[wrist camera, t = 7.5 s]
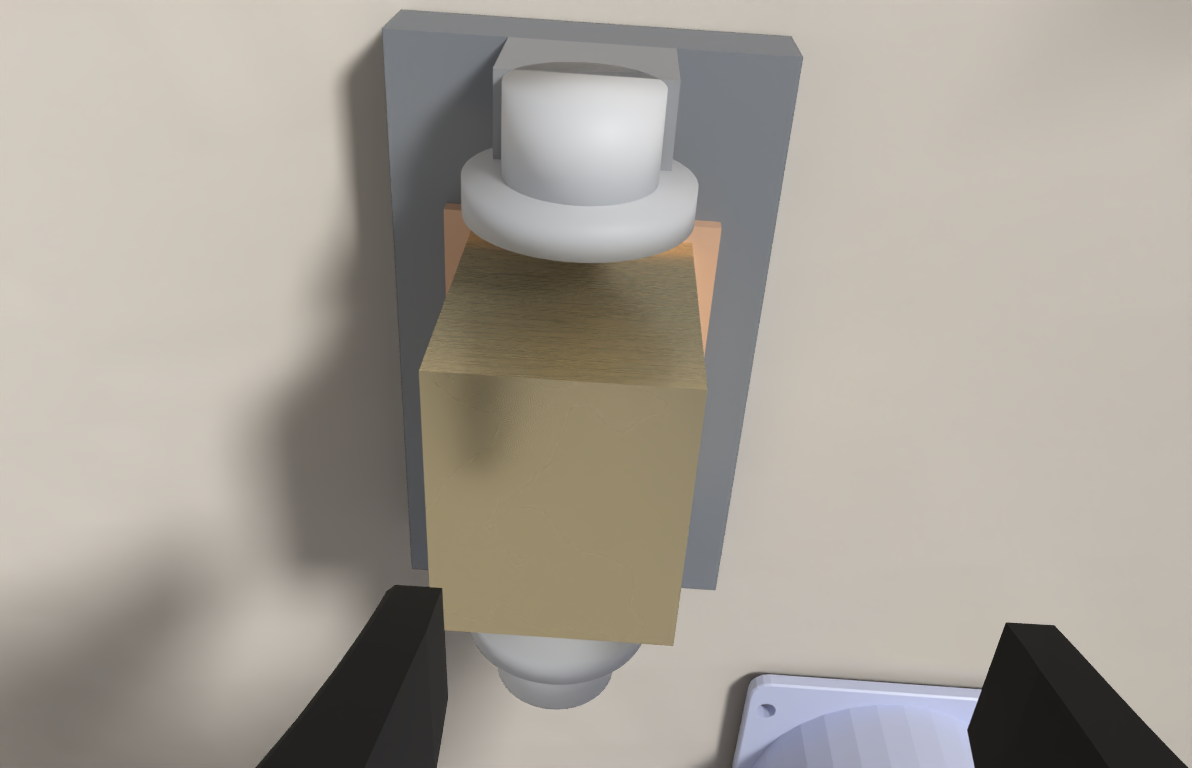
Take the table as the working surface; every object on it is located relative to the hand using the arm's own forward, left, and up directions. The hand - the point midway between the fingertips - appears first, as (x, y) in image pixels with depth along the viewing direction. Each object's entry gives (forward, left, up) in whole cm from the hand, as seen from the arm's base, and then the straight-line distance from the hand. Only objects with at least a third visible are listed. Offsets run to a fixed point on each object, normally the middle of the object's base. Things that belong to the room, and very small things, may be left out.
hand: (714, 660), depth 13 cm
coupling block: (0, +2, -8) cm, 8 cm away
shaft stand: (0, +2, -9) cm, 10 cm away
